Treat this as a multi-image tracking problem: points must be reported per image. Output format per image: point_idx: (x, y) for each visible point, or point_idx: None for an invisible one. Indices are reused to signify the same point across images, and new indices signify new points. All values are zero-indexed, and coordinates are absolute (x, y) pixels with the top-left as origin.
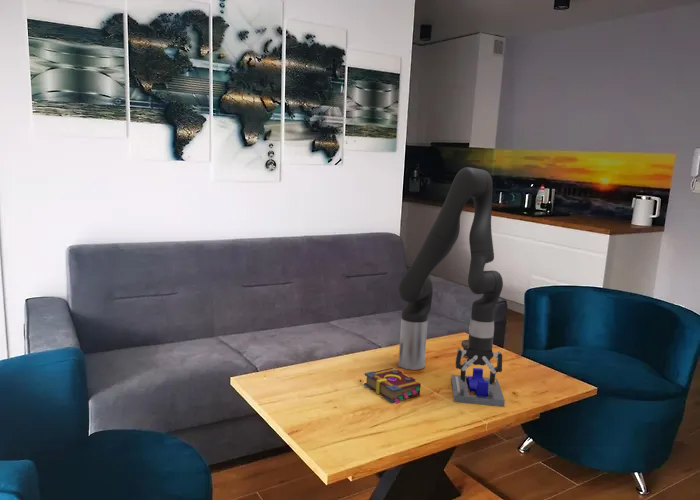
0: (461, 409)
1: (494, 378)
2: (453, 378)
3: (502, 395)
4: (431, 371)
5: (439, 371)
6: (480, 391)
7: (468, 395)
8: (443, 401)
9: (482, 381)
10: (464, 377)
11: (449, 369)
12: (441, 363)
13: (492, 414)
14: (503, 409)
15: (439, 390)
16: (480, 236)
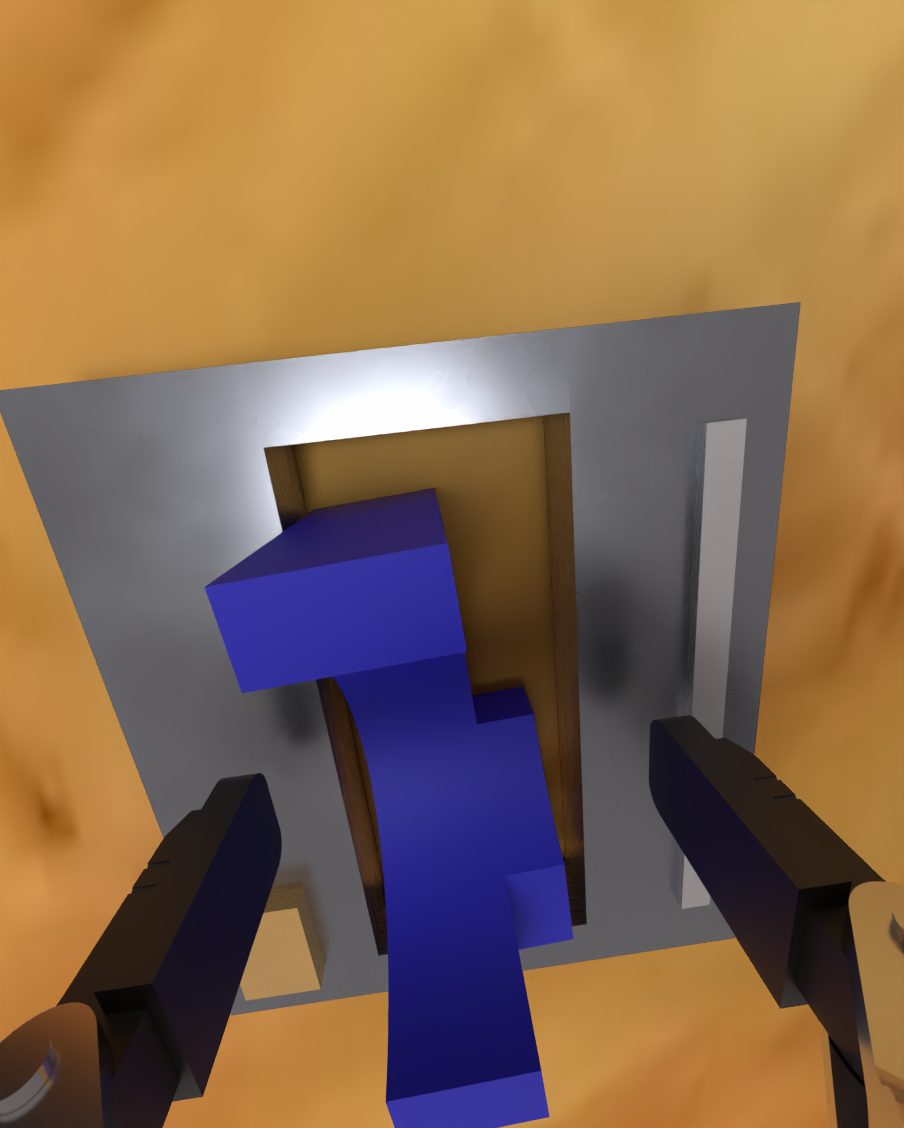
0: (652, 71)
1: (141, 889)
2: None
3: (72, 571)
4: None
5: None
6: (399, 514)
7: (580, 385)
8: (863, 293)
9: (362, 631)
10: (713, 764)
11: (685, 1055)
12: (738, 1121)
13: (190, 20)
14: (66, 292)
15: (852, 607)
16: None
